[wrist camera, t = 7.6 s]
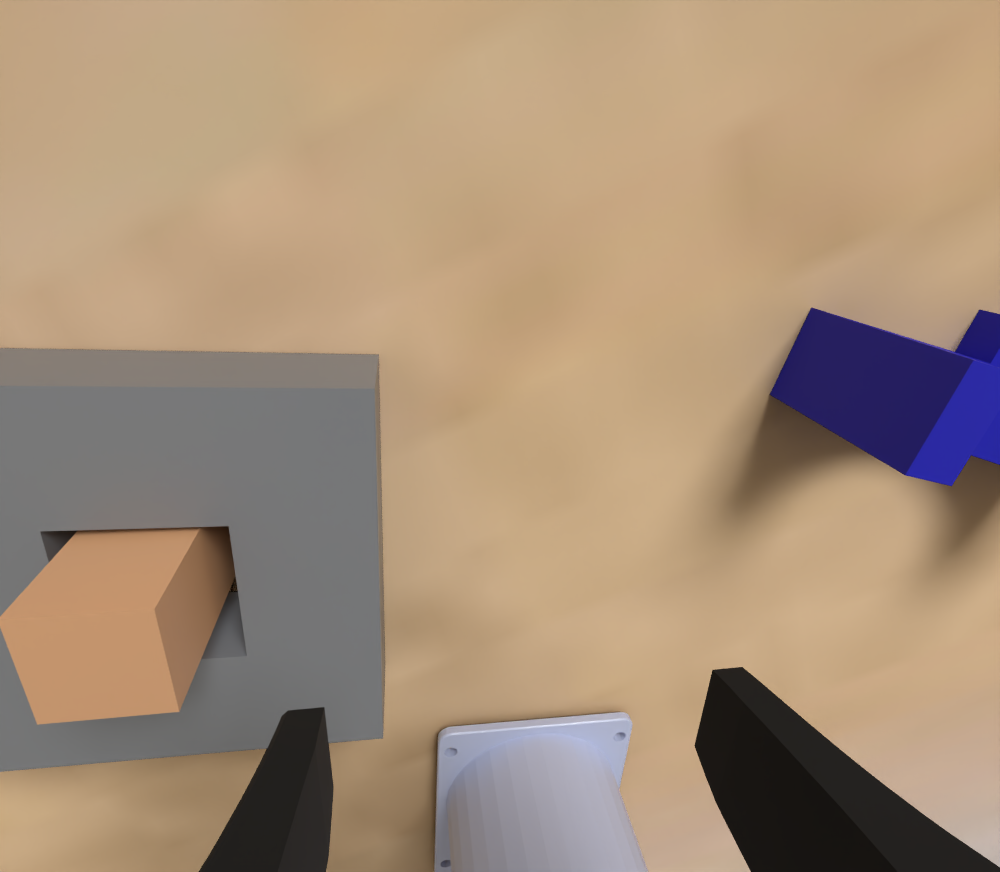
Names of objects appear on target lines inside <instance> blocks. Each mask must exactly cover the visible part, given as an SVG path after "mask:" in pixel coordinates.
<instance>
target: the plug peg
mask: <svg viewBox="0 0 1000 872" xmlns="http://www.w3.org/2000/svg"><path fill="white" fill-rule="evenodd" d="M235 576H236V575H235V568H234V561H233V554H232V547H231V540H230V533H229V526H216V527H181V528H145V529H110V530H78V531H77V532H76V533H75V534H74V535H73V537H72V538H71V539H70V540H69V541H68V542H67V543H66V544H65V545H64V546H63V548H62V549H61V550H60V551H59V552H58V553H57V554H56V555H55V556H54V558H53V559H52V560H51V561H50V562H49V563H48V564H47V565H46V566H45V567H44V569H43V570H42V571H41V572H40V573H39V574H38V575H37V576H36V577H35V579H34V580H33V581H32V582H31V583H30V584H29V585H28V586H27V587H26V589H25V590H24V591H23V592H22V593H21V594H20V595H19V596H18V597H17V598H16V600H15V601H14V602H13V603H12V604H11V605H10V606H9V607H8V608H7V610H6V611H5V612H4V613H3V614H2V615H1V616H0V628H1V631H2V633H3V636H4V639H5V641H6V644H7V647H8V649H9V652H10V654H11V657H12V660H13V662H14V665H15V667H16V670H17V673H18V675H19V678H20V681H21V683H22V686H23V688H24V691H25V694H26V696H27V699H28V702H29V704H30V707H31V709H32V712H33V715H34V717H35V720H36V722H37V725H39V724H50V723H61V722H72V721H83V720H94V719H105V718H116V717H127V716H138V715H150V714H161V713H172V712H179V711H180V709H181V707H182V704H183V702H184V699H185V697H186V694H187V692H188V690H189V687H190V685H191V682H192V680H193V678H194V675H195V673H196V670H197V668H198V665H199V663H200V661H201V658H202V656H203V653H204V651H205V648H206V646H207V644H208V641H209V639H210V636H211V634H212V631H213V629H214V627H215V624H216V622H217V619H218V617H219V614H220V612H221V610H222V607H223V605H224V602H225V600H226V597H227V595H228V593H229V590H230V588H231V585H232V583H233V580H234V578H235Z"/></svg>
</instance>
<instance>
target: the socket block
mask: <svg viewBox="0 0 1000 872" xmlns="http://www.w3.org/2000/svg"><path fill="white" fill-rule="evenodd" d="M216 526H229V533H230V540H231V547H232V554H233V561H234V568H235V575H236V582H237V589H238V592H229V593H228V595H227V597H226V600H225V602H224V605H223V607H222V610H221V612H220V614H219V617H218V619H217V622H216V624H215V627H214V629H213V631H212V634H211V636H210V639H209V641H208V644H207V646H206V648H205V651H204V653H203V656H202V658H201V661H200V663H199V665H198V668H197V670H196V673H195V675H194V678H193V680H192V682H191V685H190V687H189V690H188V692H187V694H186V697H185V699H184V702H183V704H182V707H181V709H180V711H179V712H172V713H161V714H150V715H138V716H127V717H116V718H105V719H94V720H83V721H72V722H61V723H50V724H39V725H37V722H36V720H35V717H34V715H33V712H32V709H31V707H30V704H29V702H28V699H27V696H26V694H25V691H24V688H23V686H22V683H21V681H20V678H19V675H18V673H17V670H16V667H15V665H14V662H13V660H12V657H11V654H10V652H9V649H8V647H7V644H6V641H5V639H4V636H3V633H2V631H1V628H0V772H2V771H13V770H25V769H36V768H48V767H59V766H71V765H82V764H94V763H105V762H117V761H128V760H140V759H151V758H163V757H174V756H186V755H197V754H209V753H220V752H231V751H243V750H254V749H266V748H268V746H269V743H270V741H271V739H272V737H273V735H274V733H275V730H276V728H277V726H278V723H279V721H280V719H281V716H282V715H283V714H285V713H286V712H287V711H288V710H298V709H308V708H319V707H324V708H325V717H326V726H327V734H328V743H335V742H346V741H358V740H369V739H381V738H383V725H384V692H385V633H384V585H383V537H382V488H381V440H380V392H379V355H370V354H311V353H253V352H194V351H136V350H78V349H19V348H0V616H1V615H2V614H3V613H4V612H5V611H6V610H7V608H8V607H9V606H10V605H11V604H12V603H13V602H14V601H15V600H16V598H17V597H18V596H19V595H20V594H21V593H22V592H23V591H24V590H25V589H26V587H27V586H28V585H29V584H30V583H31V582H32V581H33V580H34V579H35V577H36V576H37V575H38V574H39V573H40V572H41V571H42V570H43V569H44V567H45V566H46V565H47V564H48V563H49V562H50V561H51V560H52V559H53V558H54V556H55V555H56V554H57V553H58V552H59V551H60V550H61V549H62V548H63V546H64V545H65V544H66V543H67V542H68V541H69V540H70V539H71V538H72V537H73V535H74V534H75V533H76V532H77V531H78V530H110V529H145V528H181V527H216Z"/></svg>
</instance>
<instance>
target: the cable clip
mask: <svg viewBox="0 0 1000 872" xmlns="http://www.w3.org/2000/svg"><path fill="white" fill-rule="evenodd" d="M770 395H771V396H773V397H775V398H776V399H778V400H780V401H781V402H783V403H785V404H786V405H788V406H790V407H792V408H793V409H795V410H797V411H798V412H800V413H802V414H803V415H805V416H807V417H808V418H810V419H812V420H813V421H815V422H817V423H818V424H820V425H822V426H823V427H825V428H827V429H828V430H830V431H832V432H834V433H835V434H837V435H839V436H840V437H842V438H844V439H845V440H847V441H849V442H850V443H852V444H854V445H855V446H857V447H859V448H860V449H862V450H864V451H865V452H867V453H869V454H870V455H872V456H874V457H876V458H877V459H879V460H881V461H882V462H884V463H886V464H887V465H889V466H891V467H892V468H894V469H896V470H897V471H899V472H901V473H902V474H904V475H907V476H911V477H915V478H919V479H924V480H928V481H932V482H936V483H941V484H945V485H949V486H952V485H953V483H954V481H955V480H956V478H957V477H958V475H959V474H960V472H961V470H962V469H963V467H964V466H965V464H966V462H967V461H968V459H969V458H970V456H975V457H978V458H981V459H984V460H987V461H990V462H993V463H996V464H999V465H1000V314H996V313H992V312H988V311H983V310H979V311H978V313H977V315H976V317H975V318H974V320H973V322H972V323H971V325H970V327H969V329H968V330H967V332H966V334H965V335H964V337H963V339H962V341H961V342H960V344H959V346H958V348H957V349H956V351H955V352H953V351H950V350H946V349H943V348H940V347H937V346H934V345H930V344H927V343H924V342H921V341H917V340H914V339H911V338H908V337H905V336H901V335H898V334H895V333H892V332H888V331H885V330H882V329H879V328H876V327H872V326H869V325H866V324H863V323H859V322H856V321H853V320H850V319H847V318H843V317H840V316H837V315H834V314H830V313H827V312H824V311H821V310H818V309H814V308H811V310H810V312H809V314H808V316H807V318H806V320H805V322H804V324H803V326H802V328H801V330H800V333H799V335H798V337H797V339H796V341H795V343H794V345H793V347H792V349H791V351H790V353H789V355H788V358H787V360H786V362H785V364H784V366H783V368H782V370H781V372H780V374H779V376H778V378H777V381H776V383H775V385H774V387H773V389H772V391H771V393H770Z"/></svg>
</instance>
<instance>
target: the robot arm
mask: <svg viewBox="0 0 1000 872" xmlns="http://www.w3.org/2000/svg"><path fill="white" fill-rule="evenodd" d="M631 730H632V721H631V719H630V717H629V715H628V714H626V713H624V712H615V713H603V714H592V715H580V716H568V717H557V718H545V719H533V720H522V721H510V722H498V723H487V724H475V725H463V726H451V727H447V728H445V729H443V730H441V732H440V733H439V735H438V751H437V787H436V824H435V860H434V872H648V870H647V867H646V864H645V861H644V858H643V856H642V853H641V850H640V847H639V844H638V841H637V839H636V836H635V833H634V830H633V827H632V825H631V822H630V819H629V816H628V813H627V810H626V808H625V805H624V802H623V799H622V796H621V794H620V791H619V788H620V783H621V778H622V773H623V769H624V764H625V759H626V754H627V749H628V744H629V740H630V735H631ZM695 748H696V751H697V754H698V756H699V759H700V762H701V765H702V767H703V770H704V773H705V776H706V778H707V781H708V783H709V786H710V788H711V791H712V793H713V796H714V798H715V801H716V803H717V805H718V807H719V810H720V812H721V814H722V816H723V818H724V820H725V822H726V824H727V826H728V828H729V829H730V831H731V833H732V835H733V837H734V839H735V841H736V843H737V845H738V847H739V849H740V851H741V853H742V855H743V857H744V859H745V861H746V863H747V865H748V867H749V869H750V871H751V872H1000V867H998V866H997V865H995V864H994V863H992V862H991V861H990V860H988V859H987V858H985V857H984V856H982V855H981V854H979V853H978V852H976V851H975V850H973V849H972V848H970V847H969V846H968V845H966V844H965V843H963V842H962V841H960V840H959V839H957V838H956V837H954V836H953V835H951V834H950V833H948V832H947V831H946V830H944V829H943V828H941V827H940V826H939V825H937V824H936V823H934V822H933V821H932V820H930V819H929V818H928V817H926V816H925V815H923V814H922V813H921V812H919V811H918V810H917V809H915V808H914V807H913V806H911V805H910V804H909V803H908V802H906V801H905V800H904V799H902V798H901V797H900V796H898V795H897V794H896V793H894V792H893V791H892V790H890V789H889V788H888V787H886V786H885V785H884V784H882V783H881V782H880V781H879V780H877V779H876V778H875V777H874V776H872V775H871V774H870V773H869V772H867V771H866V770H865V769H863V768H862V767H861V766H860V765H858V764H857V763H856V762H855V761H853V760H852V759H851V758H850V757H849V756H847V755H846V754H845V753H844V752H842V751H841V750H840V749H839V748H838V747H836V746H835V745H834V744H833V743H831V742H830V741H829V740H828V739H827V738H825V737H824V736H823V735H822V734H821V733H820V732H818V731H817V730H816V729H815V728H814V727H812V726H811V725H810V724H809V723H808V722H806V721H805V720H804V719H803V718H802V717H801V716H799V715H798V714H797V713H796V712H795V711H794V710H792V709H791V708H790V707H789V706H788V705H787V704H785V703H784V702H783V701H782V700H781V699H780V698H778V697H777V696H776V695H775V694H774V693H772V692H771V691H770V690H769V689H768V688H767V687H765V686H764V685H763V684H762V683H761V682H760V681H758V680H757V679H756V678H755V677H754V676H752V675H751V674H750V673H749V672H747V671H746V670H745V669H744V668H743V667H738V668H728V669H717V670H712V675H711V679H710V683H709V687H708V692H707V696H706V700H705V704H704V708H703V713H702V717H701V721H700V725H699V729H698V734H697V738H696V742H695ZM332 802H333V779H332V770H331V761H330V752H329V743H328V734H327V726H326V717H325V708H324V707H319V708H308V709H298V710H288V711H287V712H286V713H285V714H283V715H282V716H281V719H280V721H279V723H278V726H277V728H276V730H275V733H274V735H273V737H272V739H271V741H270V743H269V746H268V748H267V750H266V752H265V754H264V756H263V758H262V760H261V762H260V764H259V766H258V768H257V770H256V772H255V774H254V776H253V778H252V779H251V781H250V783H249V785H248V787H247V789H246V791H245V793H244V795H243V796H242V798H241V800H240V802H239V804H238V805H237V807H236V809H235V811H234V813H233V814H232V816H231V818H230V820H229V821H228V823H227V825H226V827H225V829H224V830H223V832H222V834H221V836H220V837H219V839H218V841H217V843H216V844H215V846H214V848H213V849H212V851H211V853H210V854H209V856H208V858H207V859H206V861H205V862H204V864H203V866H202V867H201V869H200V871H199V872H326V868H327V862H328V855H329V843H330V831H331V817H332Z"/></svg>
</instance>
